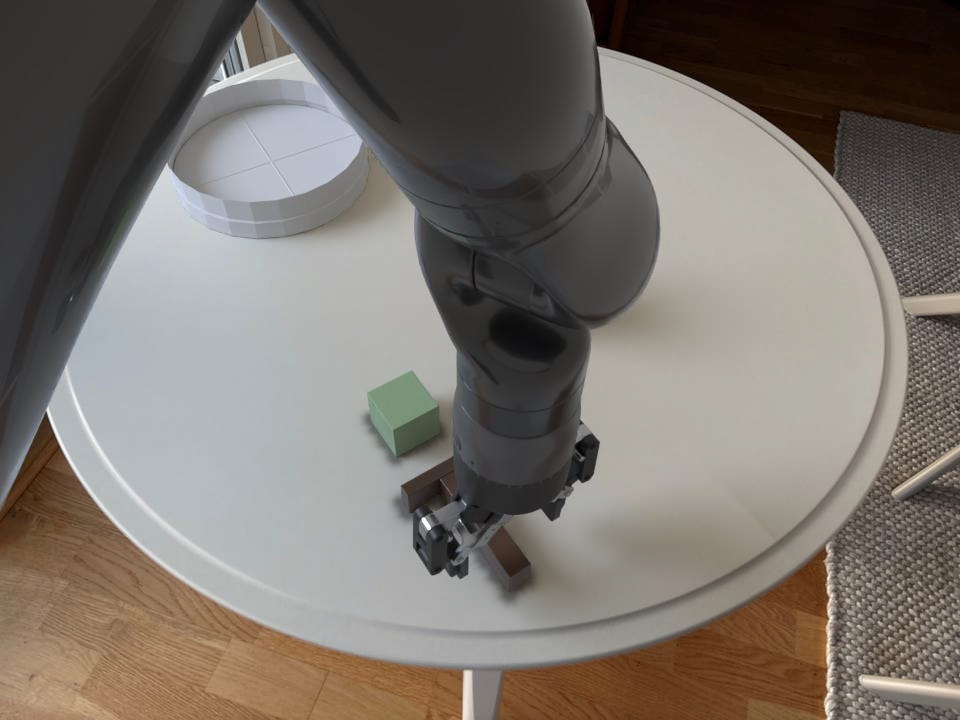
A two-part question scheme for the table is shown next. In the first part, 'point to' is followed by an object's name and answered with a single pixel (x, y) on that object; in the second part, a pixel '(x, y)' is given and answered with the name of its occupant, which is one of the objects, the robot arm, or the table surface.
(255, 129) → the dish
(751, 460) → the table surface
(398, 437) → the block
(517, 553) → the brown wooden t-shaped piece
